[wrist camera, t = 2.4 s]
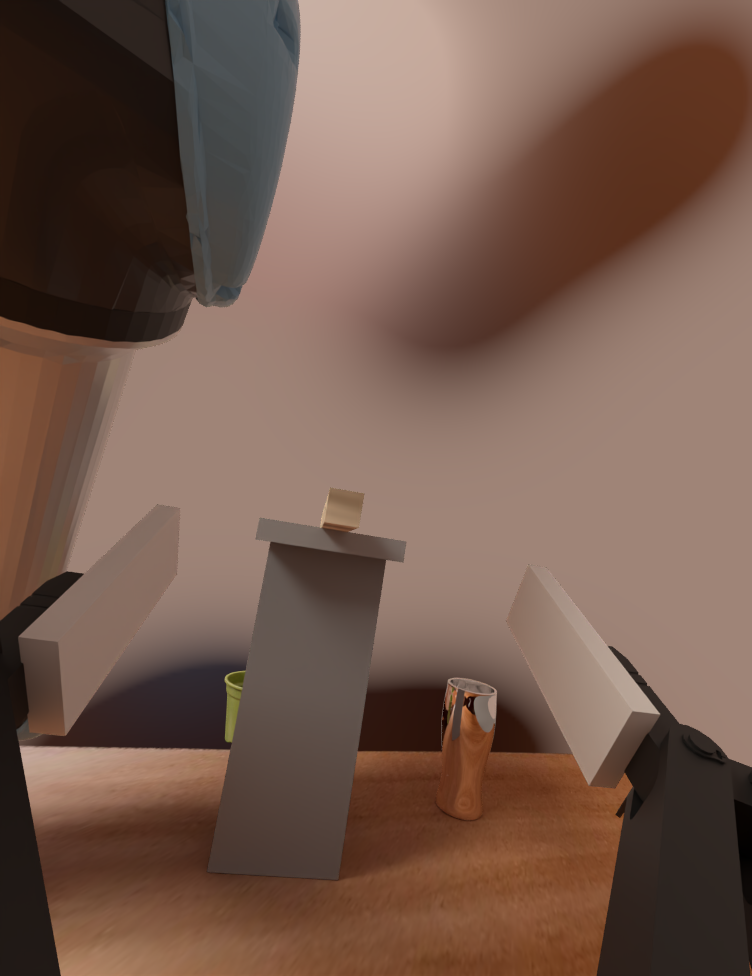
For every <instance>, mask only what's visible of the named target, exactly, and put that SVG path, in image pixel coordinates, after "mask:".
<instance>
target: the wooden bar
mask: <svg viewBox="0 0 752 976" xmlns="http://www.w3.org/2000/svg"><path fill="white" fill-rule="evenodd" d="M363 499H364V494H363V493H358V492H352V491H346V490H341V489H334V488H330V490H329V493H328V497H327V500H326V504H325V507H324V510H323V514H322V519H321V525H320V528H326V529H332V530H338V531H344V532H349V531H351V530H354V529H357V528H359V523H360V517H361V511H362V504H363Z"/></svg>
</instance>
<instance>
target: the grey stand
mask: <svg viewBox="0 0 752 976" xmlns="http://www.w3.org/2000/svg"><path fill="white" fill-rule="evenodd" d="M256 539H257V540H263V541H270V542H271V543H270V548H269V553H268V559H267V564H266V569H265V574H264V579H263V584H262V589H261V594H260V600H259V605H258V610H257V615H256V620H255V625H254V631H253V636H252V641H251V647H250V651H249V656H248V662H247V667H246V672H245V677H244V682H243V688H242V693H241V698H240V703H239V708H238V713H237V719H236V724H235V729H234V734H233V739H232V745H231V750H230V755H229V760H228V765H227V770H226V776H225V781H224V786H223V791H222V796H221V801H220V807H219V812H218V817H217V822H216V827H215V832H214V838H213V843H212V848H211V853H210V858H209V864H208V869H207V872H213V873H230V874H246V875H263V876H279V877H295V878H312V879H328V880H338V878H339V871H340V864H341V858H342V851H343V844H344V838H345V831H346V824H347V818H348V811H349V804H350V798H351V791H352V784H353V777H354V771H355V764H356V757H357V751H358V744H359V737H360V731H361V724H362V717H363V711H364V704H365V697H366V690H367V684H368V677H369V670H370V664H371V657H372V650H373V644H374V637H375V630H376V623H377V617H378V609H379V603H380V597H381V590H382V583H383V577H384V570H385V563H386V560H392V561H398V562H403V561H404V554H405V547H406V542H405V541H399V540H393V539H387V538H381V537H374V536H369V535H362V534H356V533H350V532H344V531H338V530H332V529H326V528H320V527H313V526H307V525H301V524H294V523H289V522H283V521H277V520H270V519H264V518H260V520H259V524H258V529H257V534H256Z"/></svg>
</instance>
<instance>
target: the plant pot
mask: <svg viewBox="0 0 752 976" xmlns="http://www.w3.org/2000/svg"><path fill="white" fill-rule="evenodd" d="M245 672H246V671H239V672H233V673H230V674H228V675H227V676H226V677H225V682H226V683H227V689H226V690H227V693H228V695H227V697H228V698H227V715H226V716H227V717H226V730H225V740H226V741H227V742H231V743H232V739H233V734H234V729H235V724H236V719H237V713H238V708H239V703H240V698H241V693H242V688H243V682H244V677H245Z"/></svg>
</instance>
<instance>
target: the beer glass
mask: <svg viewBox="0 0 752 976" xmlns="http://www.w3.org/2000/svg"><path fill="white" fill-rule="evenodd" d="M496 695H497V691H496V690H495V689H494V688H493V687H491V686H489V685H487V684H485V683H482V682H478V681H475V680H470V679H464V678H451V679H449V680H448V685H447V690H446V694H445V700H444V706H443V712H442V730H441V733H442V734H441V735H442V774H441V779H440V783H439V786H438V790H437V793H436V798H435V799H436V803H437V805H438V807H439V808H440V809H441V810H442V811H444V812H445V813H447V814H448V815H450V816H452V817H455V818H458V819H462V820H476V819H478V818H480V817H481V815H482V813H483V804H482V781H483V775H484V771H485V767H486V764H487V760H488V757H489V753H490V750H491V746H492V741H493V737H494V730H495V721H496Z"/></svg>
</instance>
